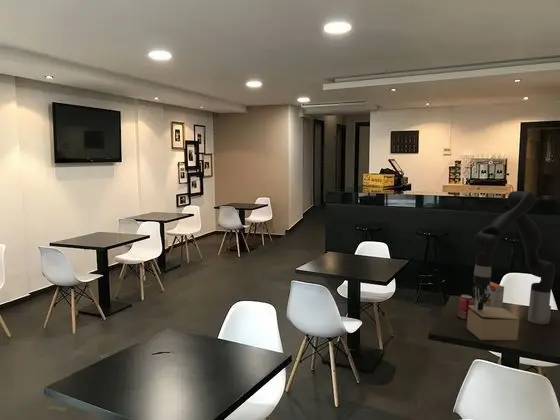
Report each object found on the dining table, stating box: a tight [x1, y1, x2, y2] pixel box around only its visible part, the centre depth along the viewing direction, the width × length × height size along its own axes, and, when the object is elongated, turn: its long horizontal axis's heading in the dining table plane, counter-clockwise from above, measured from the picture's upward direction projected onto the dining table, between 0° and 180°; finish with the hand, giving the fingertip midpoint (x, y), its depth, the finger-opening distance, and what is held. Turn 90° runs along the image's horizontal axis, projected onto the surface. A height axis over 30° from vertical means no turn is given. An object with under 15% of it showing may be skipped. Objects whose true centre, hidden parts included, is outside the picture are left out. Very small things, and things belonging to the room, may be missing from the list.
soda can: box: [457, 294, 474, 320], centre depth 237 cm, size 7×7×12 cm
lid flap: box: [469, 300, 520, 321], centre depth 215 cm, size 18×14×6 cm
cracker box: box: [473, 281, 505, 308], centre depth 233 cm, size 14×6×21 cm, turn 17°
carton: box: [466, 309, 520, 341], centre depth 216 cm, size 18×14×10 cm
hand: (479, 308), depth 215 cm, fingers closed
